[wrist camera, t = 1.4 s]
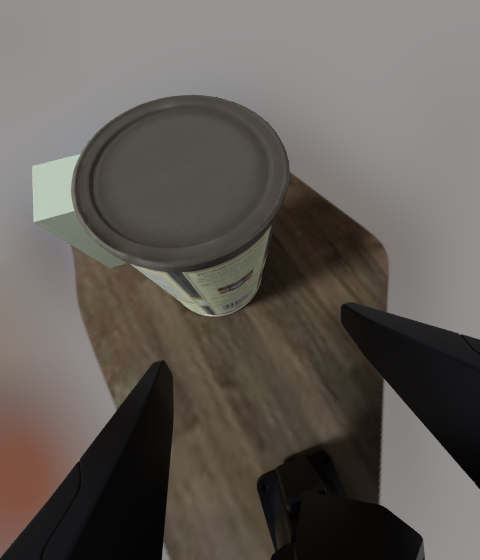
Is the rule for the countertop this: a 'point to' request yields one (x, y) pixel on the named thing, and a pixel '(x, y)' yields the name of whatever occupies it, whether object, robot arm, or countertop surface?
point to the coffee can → (186, 196)
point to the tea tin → (63, 208)
